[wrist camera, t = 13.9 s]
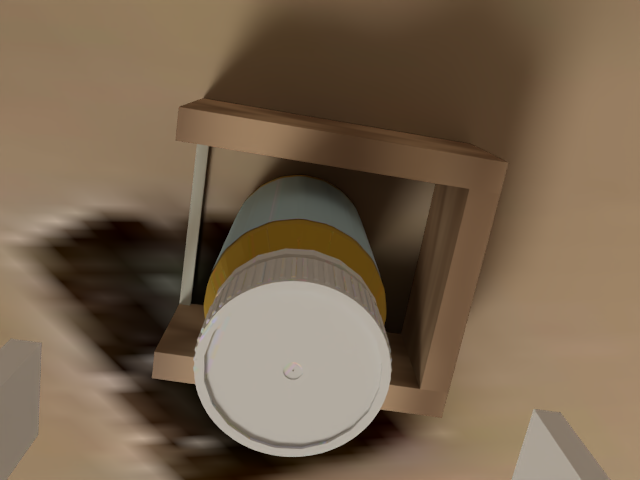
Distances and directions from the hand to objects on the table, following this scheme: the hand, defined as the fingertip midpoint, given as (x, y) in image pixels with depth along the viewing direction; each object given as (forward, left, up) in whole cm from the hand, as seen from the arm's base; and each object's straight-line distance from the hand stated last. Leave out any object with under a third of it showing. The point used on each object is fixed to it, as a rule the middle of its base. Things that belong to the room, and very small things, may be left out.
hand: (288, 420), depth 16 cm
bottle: (0, 0, -18) cm, 18 cm away
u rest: (+1, 0, -18) cm, 18 cm away
